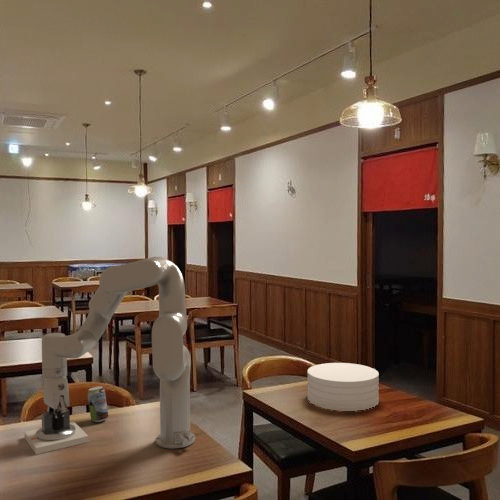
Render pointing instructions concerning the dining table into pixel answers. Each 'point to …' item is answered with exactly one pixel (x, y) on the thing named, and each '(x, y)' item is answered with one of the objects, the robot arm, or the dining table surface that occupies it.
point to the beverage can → (97, 404)
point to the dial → (47, 427)
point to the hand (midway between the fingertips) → (55, 427)
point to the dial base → (47, 446)
